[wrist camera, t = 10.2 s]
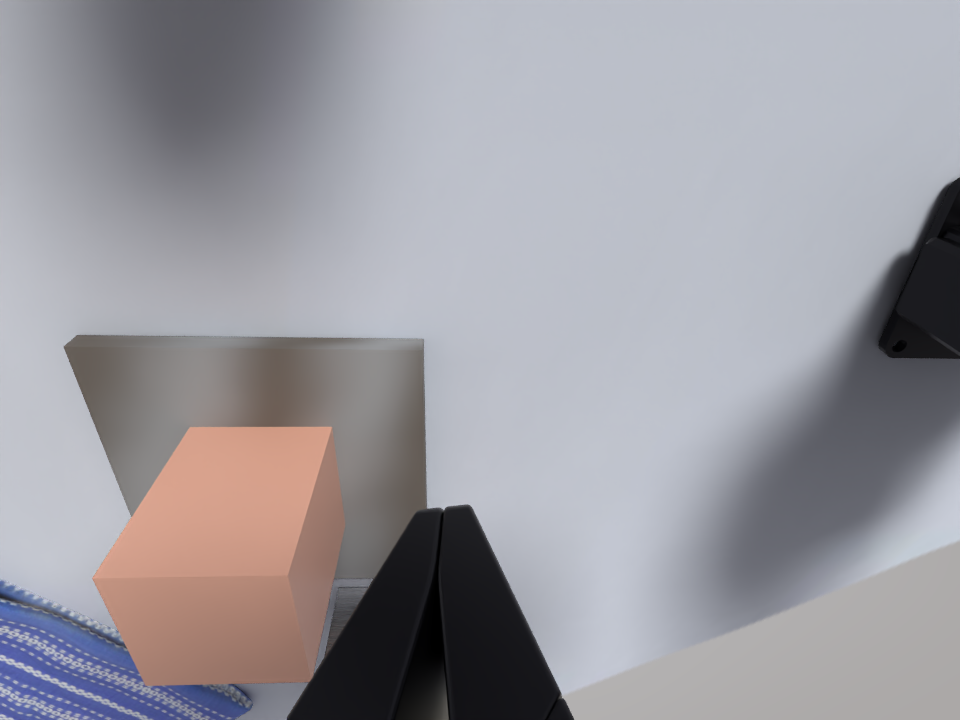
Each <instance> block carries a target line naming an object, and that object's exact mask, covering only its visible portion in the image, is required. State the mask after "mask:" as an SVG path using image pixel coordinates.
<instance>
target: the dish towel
mask: <svg viewBox="0 0 960 720" xmlns="http://www.w3.org/2000/svg"><path fill="white" fill-rule="evenodd" d="M252 706H253V704H252V701H251V700H250V699H249V698H248V697H247V696H246V695H245V694H244V693H243V692H242V691H241V690H240V689H238V688H237V687H236V686H234V685H232V684H207V685H165V686H145V684H144V682H143V680H142V678H141V675H140V673H139V671H138V669H137V667H136V665H135V663H134V661H133V659H132V657H131V655H130V653H129V651H128V649H127V647H126V645H125V643H124V641H123V639H122V637H121V635H120V633H119V632H118V631H116V630H114V629H112V628H110V627H108V626H105V625H103V624H101V623H99V622H97V621H95V620H92V619H90V618H88V617H86V616H83V615H82V614H80V613H77V612H75V611H73V610H70V609H68V608H66V607H64V606H61V605H59V604H57V603H55V602H52V601H50V600H47V599H45V598H43V597H41V596H38V595H36V594H34V593H32V592H29V591H27V590H25V589H23V588H20V587H18V586H16V585H14V584H11V583H9V582H7V581H5V580H3V579H0V720H234V719H236V718H239V717H240V716H241V715H242V714H245V713H246V712H247V711H249V710H250V709H251V708H252Z"/></svg>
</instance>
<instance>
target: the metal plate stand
mask: <svg viewBox="0 0 960 720" xmlns="http://www.w3.org/2000/svg"><path fill="white" fill-rule="evenodd" d="M64 349H65V351H66V354H67V357H68V359H69V362H70V364H71V367H72V369H73V372H74V374H75V377H76V379H77V382H78V384H79V387H80V389H81V392H82V394H83V397H84V399H85V402H86V404H87V407H88V409H89V412H90V414H91V417H92V419H93V422H94V424H95V427H96V429H97V432H98V434H99V437H100V439H101V442H102V444H103V447H104V449H105V452H106V455H107V457H108V460H109V462H110V465H111V467H112V470H113V472H114V475H115V477H116V480H117V482H118V485H119V487H120V490H121V492H122V495H123V497H124V500H125V502H126V505H127V507H128V510H129V512H130V515H131V517H132V516H133V514H134V513H135V511H136V510H137V508H138V507H139V505H140V504H141V502H142V500H143V499H144V497H145V496H146V494H147V493H148V491H149V490H150V488H151V487H152V485H153V483H154V482H155V480H156V479H157V477H158V476H159V474H160V473H161V471H162V469H163V468H164V466H165V465H166V463H167V462H168V460H169V459H170V457H171V456H172V454H173V452H174V451H175V449H176V448H177V446H178V445H179V443H180V442H181V440H182V438H183V437H184V435H185V434H186V432H187V431H188V429H189V428H190V427H332V429H333V437H334V444H335V452H336V459H337V466H338V474H339V481H340V489H341V496H342V504H343V511H344V518H345V529H344V534H343V538H342V543H341V548H340V552H339V557H338V562H337V566H336V571H335V576H334V579H362V578H375V576H376V574H377V573H378V571H379V570H380V568H381V566H382V565H383V563H384V562H385V560H386V558H387V557H388V555H389V554H390V552H391V550H392V549H393V547H394V546H395V544H396V542H397V541H398V539H399V538H400V536H401V534H402V533H403V531H404V530H405V528H406V526H407V525H408V523H409V522H410V520H411V518H412V517H413V515H414V514H415V513H416V512H417V511H418V510H422V509H427V490H426V440H425V389H424V339H377V338H285V337H193V336H101V335H77V336H76V337H74V338H73V339H72V340H71V341H70V342H69V343H67V344H66V345H65V346H64Z"/></svg>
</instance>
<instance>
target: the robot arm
mask: <svg viewBox="0 0 960 720" xmlns="http://www.w3.org/2000/svg"><path fill="white" fill-rule="evenodd" d="M897 341H899V342H898V343H897V344H896V345H894V344H895V343H896V342H897ZM893 345H894V346H893ZM878 346H879V349H880V350H881V351H882V352H884V353H885V354H886V355H887V356H889V357H892V358H948V359H960V178H958V179H957V180H956V181H954V182H953V183H952V184H951V186H950V188H949V189H948V191H947V193H946V195H945V198H944V200H943V202H942V204H941V206H940V209H939V211H938V213H937V215H936V217H935V220H934V222H933V224H932V226H931V228H930V231H929V233H928V235H927V237H926V239H925V241H924V244H923V246H922V248H921V250H920V252H919V255H918V257H917V259H916V261H915V263H914V266H913V268H912V270H911V272H910V274H909V277H908V279H907V281H906V283H905V285H904V288H903V290H902V292H901V294H900V296H899V298H898V301H897V303H896V305H895V307H894V309H893V312H892V314H891V316H890V318H889V320H888V323H887V325H886V327H885V329H884V331H883V334H882V336H881V338H880V340H879V344H878ZM287 720H574V718H573V716H572V714H571V712H570V710H569V708H568V706H567V703H566V701H565V700H564V699H563V698H562V695H561V692H560V690H559V687H558V685H557V683H556V681H555V679H554V677H553V675H552V673H551V671H550V669H549V667H548V665H547V662H546V660H545V658H544V656H543V654H542V652H541V650H540V648H539V646H538V644H537V642H536V640H535V637H534V635H533V633H532V631H531V629H530V627H529V625H528V623H527V621H526V619H525V617H524V615H523V613H522V610H521V608H520V606H519V604H518V602H517V600H516V598H515V596H514V594H513V592H512V590H511V588H510V585H509V583H508V581H507V579H506V577H505V575H504V573H503V571H502V569H501V567H500V565H499V563H498V560H497V558H496V556H495V554H494V552H493V550H492V548H491V546H490V544H489V542H488V540H487V538H486V535H485V533H484V531H483V529H482V527H481V525H480V523H479V521H478V519H477V517H476V515H475V513H474V511H473V509H472V507H471V506H470V505H458V506H449V507H446V508H445V510H443V509H441V508H431V509H422V510H418V511H417V512H416V513H415V514H414V515H413V517H412V518H411V520H410V522H409V523H408V525H407V526H406V528H405V530H404V531H403V533H402V534H401V536H400V538H399V539H398V541H397V542H396V544H395V546H394V547H393V549H392V550H391V552H390V554H389V555H388V557H387V558H386V560H385V562H384V563H383V565H382V566H381V568H380V570H379V571H378V573H377V574H376V576H375V578H374V579H373V581H372V582H371V584H370V586H369V587H368V589H367V590H366V592H365V594H364V595H363V597H362V598H361V600H360V602H359V603H358V605H357V606H356V608H355V610H354V611H353V613H352V614H351V616H350V618H349V619H348V621H347V622H346V624H345V626H344V627H343V629H342V630H341V632H340V634H339V635H338V637H337V638H336V640H335V642H334V643H333V645H332V646H331V648H330V650H329V651H328V653H327V654H326V656H325V658H324V659H323V661H322V662H321V664H320V666H319V667H318V669H317V670H316V672H315V674H314V675H313V677H312V678H311V680H310V682H309V683H308V685H307V686H306V688H305V690H304V691H303V693H302V694H301V696H300V698H299V699H298V701H297V702H296V704H295V706H294V707H293V709H292V710H291V712H290V714H289V715H288V717H287Z"/></svg>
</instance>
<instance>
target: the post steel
mask: <svg viewBox="0 0 960 720" xmlns="http://www.w3.org/2000/svg"><path fill="white" fill-rule="evenodd" d="M367 589H368V588H338V593H337V598H336V603H335V608H334V612H333V617H332V622H331V627H330V632H329V637H328V642H327V647H326V652H325V656H326V654H327V653H328V651H329V650H330V648H331V646H332V645H333V643H334V642H335V640H336V638H337V637H338V635H339V634H340V632H341V630H342V629H343V627H344V626H345V624H346V622H347V621H348V619H349V618H350V616H351V614H352V613H353V611H354V610H355V608H356V606H357V605H358V603H359V602H360V600H361V598H362V597H363V595H364V594H365V592H366V590H367ZM324 658H325V657H324Z"/></svg>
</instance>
